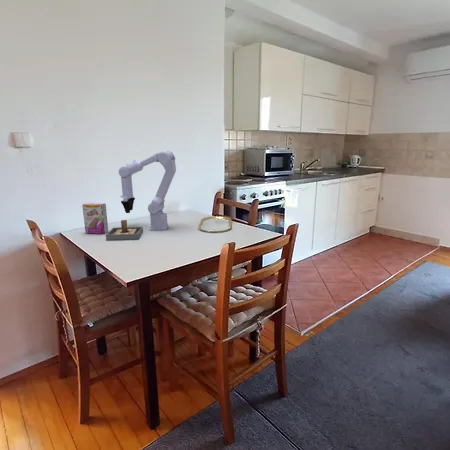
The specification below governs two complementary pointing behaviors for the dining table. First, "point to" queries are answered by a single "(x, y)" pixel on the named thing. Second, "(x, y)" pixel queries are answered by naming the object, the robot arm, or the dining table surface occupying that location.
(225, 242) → the dining table surface
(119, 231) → the oak hole plate
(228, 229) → the gold wire ring
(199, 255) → the dining table surface
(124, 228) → the walnut peg
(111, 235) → the charcoal tray
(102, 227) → the candy bar box
